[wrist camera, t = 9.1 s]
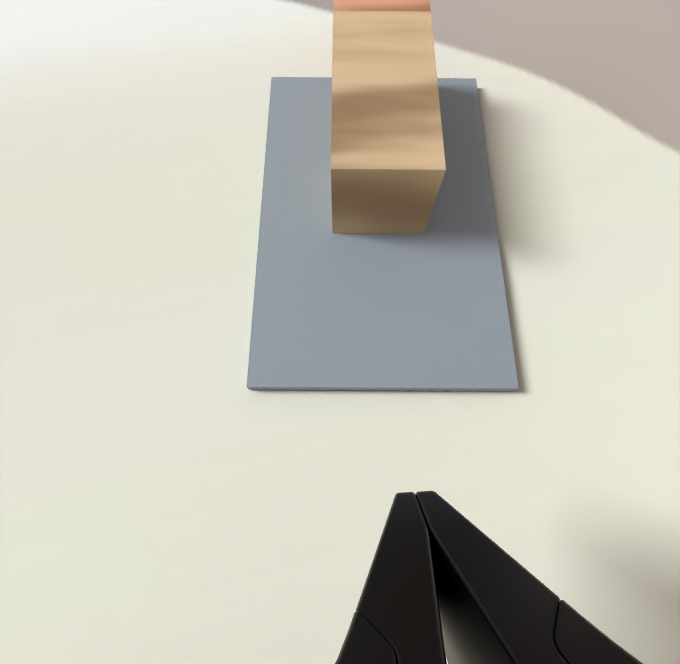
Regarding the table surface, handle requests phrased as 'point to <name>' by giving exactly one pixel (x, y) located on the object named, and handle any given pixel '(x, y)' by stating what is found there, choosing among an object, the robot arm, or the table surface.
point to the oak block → (384, 117)
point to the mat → (376, 266)
